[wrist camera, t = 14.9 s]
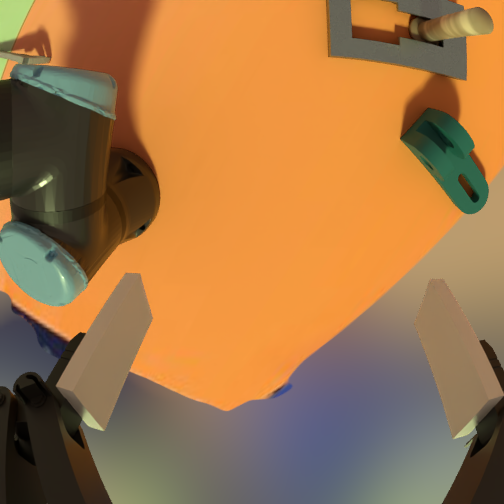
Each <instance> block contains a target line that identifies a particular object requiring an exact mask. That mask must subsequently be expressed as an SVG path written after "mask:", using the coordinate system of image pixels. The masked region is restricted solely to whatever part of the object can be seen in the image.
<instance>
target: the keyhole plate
mask: <svg viewBox="0 0 504 504" xmlns="http://www.w3.org/2000/svg"><path fill="white" fill-rule="evenodd" d="M382 1H387V2H392V3H396V5H397V11H398V12H403V13H407V14H411V15H415V16H419V17H423V18H426V19H430V20H431V19H434V18H438V17H441V16H444V15H448V14H451V13H455V12H459V11H463V10H464V6H462V5H459V4H456V3H454V2H451V1H448V0H382ZM326 6H327V29H328V57H335V58H346V59H355V60H363V61H371V62H378V63H385V64H391V65H396V66H402V67H407V68H412V69H417V70H422V71H426V72H430V73H435V74H439V75H443V76H447V77H450V78H454V79H458V80H465V81H466V77H467V53H466V36H465V37H458V38H451V39H444V40H441V41H442V47H440V46H436V45H432V44H428V43H425V42H421V41H416V40H412V39H408V38H403V37H398V45H395V44H390V43H384V42H378V41H372V40H365V39H357V38H352V23H351V4H350V0H326Z"/></svg>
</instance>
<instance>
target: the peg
mask: <svg viewBox="0 0 504 504" xmlns="http://www.w3.org/2000/svg"><path fill="white" fill-rule="evenodd" d="M492 31H493V21H492V19H491V17H490V15H489V14H488V13H487V12H486V11H485V10H484V9H482V8H480V7H475V8H471V9H467V10H463V11H459V12H455V13H451V14H448V15H444V16H441V17H438V18H434V19H431V20H430V19H426V18H423V17H417V18H415V19H413V20H412V21H411V22H410V24H409V33H410V36H411V38H412V39H413V40H416V41H421V42H425V43H428V44H432V45H436V46H438V45H439V43H440V41H441V40H444V39H451V38H458V37H465V36H474V35H484V34H490V33H491V32H492Z"/></svg>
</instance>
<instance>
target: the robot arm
mask: <svg viewBox="0 0 504 504" xmlns="http://www.w3.org/2000/svg"><path fill="white" fill-rule="evenodd" d="M10 77H11V79H7V80H0V200H4V199H8V198H10V206H11V215H12V219H11V222H7V223H6V224H4V226H3V228H2V230H1V231H0V260H1V262H2V264H3V266H4V268H5V270H6V271H7V273H8V274H9V276H10V277H11V278H12V280H13V281H14V282H15V283H16V284H17V285H18V286H19V287H20V288H21V289H22V290H23V291H24V292H25V293H27V294H28V295H29V296H31V297H32V298H34V299H35V300H37V301H39V302H41V303H44V304H47V305H50V306H64V305H66V304H69V303H71V302H72V301H73V300H74V299H75V298H76V297H77V296H78V295H79V294H80V293H81V292H82V291H84V290H85V289H86V287H87V286H88V283H89V281H90V280H91V279H92V278H93V276H94V275H95V274H96V272H97V271H98V270H99V269H100V267H101V266H102V265H103V264H104V262H105V261H106V260H107V259H108V257H109V256H110V255H111V254H112V252H113V251H114V250H115V249H116V247H117V246H118V245H119V244H122V243H124V242H127V241H129V240H132V239H134V238H136V237H138V236H140V235H141V234H142V233H143V232H145V231H146V229H147V228H148V227H149V226H150V225H151V223H152V222H153V221H154V219H155V217H156V215H157V213H158V209H159V205H160V192H159V187H158V183H157V180H156V178H155V176H154V174H153V172H152V170H151V169H150V167H149V166H148V165H147V164H146V163H145V162H144V161H143V160H142V159H141V158H140V157H139V156H137V155H136V154H134V153H132V152H130V151H128V150H125V149H120V148H111V141H112V133H113V126H114V120H116V114H115V107H116V99H117V91H118V86H117V82H116V80H115V79H114V78H113V77H112V76H111V75H109V74H107V73H102V72H96V71H90V70H83V69H75V68H67V67H58V66H48V65H33V64H16V65H15V66H14V67H13V70H12V71H11V73H10ZM152 319H153V317H152V314H151V310H150V307H149V304H148V300H147V297H146V293H145V290H144V286H143V282H142V279H141V275H140V274H138V273H125V275H124V276H123V278H122V279H121V281H120V282H119V283H118V285H117V286H116V288H115V289H114V291H113V292H112V294H111V295H110V297H109V298H108V300H107V301H106V303H105V305H104V306H103V308H102V309H101V311H100V312H99V314H98V315H97V317H96V319H95V320H94V322H93V323H92V325H91V327H90V328H89V330H88V331H87V333H81V332H80V333H78V334H77V335H76V336H75V337H74V338H73V339H71V341H70V342H69V344H68V345H67V347H66V349H65V351H64V352H63V354H62V355H61V359H59V360H58V362H57V364H56V365H55V367H54V369H53V371H52V372H51V374H50V376H49V377H48V379H47V381H46V382H44V381H43V380H42V379H41V377H40V376H39V375H38V374H37V373H34V372H27V373H25V374H23V375H21V376H20V377H19V378H18V379H17V380H16V382H15V384H14V386H13V392H14V393H15V394H16V395H13V394H12V393H11V391H10V390H9V389H8V388H6V387H3V386H0V504H112V502H111V500H110V498H109V495H108V493H107V491H106V489H105V487H104V484H103V482H102V480H101V478H100V475H99V473H98V471H97V468H96V466H95V463H94V461H93V458H92V455H91V453H90V450H89V447H88V445H87V442H86V439H85V436H84V433H83V430H82V428H81V426H80V423H81V421H82V419H83V421H84V422H85V423H86V424H87V425H88V426H89V427H92V428H96V429H99V430H102V431H105V428H106V426H107V424H108V421H109V419H110V416H111V413H112V411H113V408H114V406H115V404H116V401H117V399H118V396H119V394H120V392H121V389H122V387H123V384H124V382H125V380H126V377H127V375H128V373H129V370H130V368H131V366H132V364H133V361H134V359H135V357H136V355H137V352H138V350H139V348H140V346H141V343H142V341H143V339H144V337H145V335H146V332H147V330H148V328H149V326H150V324H151V322H152ZM414 325H415V328H416V330H417V333H418V335H419V338H420V340H421V343H422V345H423V348H424V351H425V353H426V356H427V359H428V362H429V364H430V367H431V370H432V373H433V375H434V379H435V382H436V385H437V387H438V390H439V394H440V397H441V400H442V403H443V407H444V410H445V413H446V417H447V420H448V423H449V427H450V431H451V434H452V438H453V439H455V438H458V437H462V436H466V435H468V434H469V433H470V432H471V431H472V430H473V429H474V428H475V427H476V431H477V434H476V435H475V436H474V437H473V438H472V439H471V440H470V441H469V442H467V444H466V445H465V447H468V446H469V445H470V444H471V446H470V448H469V450H468V453H467V455H466V457H465V459H464V462H463V464H462V466H461V468H460V470H459V472H458V474H457V476H456V478H455V480H454V482H453V484H452V487H451V488H450V490H449V492H448V494H447V496H446V498H445V499H444V501H443V503H442V504H504V370H503V368H502V367H501V364H500V363H499V360H497V356H496V354H495V352H494V350H493V348H492V347H491V346H490V345H489V344H488V343H487V342H486V341H485V340H481V341H479V340H478V338H477V336H476V334H475V333H474V331H473V329H472V327H471V325H470V323H469V322H468V320H467V318H466V316H465V314H464V313H463V311H462V309H461V307H460V306H459V304H458V302H457V301H456V299H455V297H454V296H453V294H452V292H451V291H450V289H449V288H448V286H447V284H446V283H445V281H444V280H443V279H430V280H429V283H428V287H427V289H426V292H425V295H424V298H423V301H422V304H421V306H420V309H419V312H418V315H417V317H416V320H415V322H414Z"/></svg>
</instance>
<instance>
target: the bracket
mask: <svg viewBox="0 0 504 504" xmlns="http://www.w3.org/2000/svg"><path fill="white" fill-rule="evenodd" d="M401 141H402V142H403V143H404V144H405V145H406V146H407V147H408V148H409V149H410V150H411V152H412V153H413V154H414V155H415V156H416V157H417V158H418V159H419V161H420V162H421V163H422V164H423V165H424V166H425V168H426V169H427V170H428V171H429V172H430V174H431V175H432V176H433V177H434V179H435V180H436V181H437V182H438V184H439V185H440V186H441V187H442V189H443V190H444V191H445V192H446V194H447V195H448V196H449V198H450V199H451V200H452V202H453V203H454V204H455V205H456V206H457V207H458V208H459V209H460V210H461V211H462V212H464V213H466V214H474V213H476V212H478V211H479V210H481V209H482V207H483V206H484V205H485V203H486V201H487V198H488V192H489V189H488V184H487V182H486V180H485V178H484V177H483V175H482V173H481V172H480V170H479V169H478V167H477V166H476V164H475V163H474V161H473V160H472V158H471V157H470V155H469V153H470V152H471V151H472V150H473V149H474V142H473V140H472V139H471V137H470V135H469V134H468V133H467V131H466V130H465V129H464V128H463V127H462V126H461V125H460V124H459V123H458V122H457V121H456V120H455V119H454V118H453V117H451V116H450V115H448V114H447V113H445V112H442V111H439V110H435V109H431V108H428V109H427V110H426V111H425V112H424V113H423V114H422V116H421V117H420V118H419V119H418V120H417V121H416V122H415V123H414V124H413V125H412V127H411V128H410V129H409V130H408V131H407V132H406V133H405V134H404V135H403V136H402V137H401ZM460 174H462V175H463V177H464V178H465V179H466V181H467V182H468V184H469V185H470V187H471V188H472V190H473V195H472V197H469V196H468V194H467V193H466V192H465V190H464V189H463V187H462V186H461V184H460V183H459V181H458V177H459V175H460Z"/></svg>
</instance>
